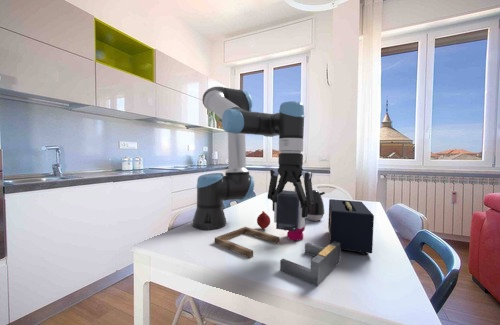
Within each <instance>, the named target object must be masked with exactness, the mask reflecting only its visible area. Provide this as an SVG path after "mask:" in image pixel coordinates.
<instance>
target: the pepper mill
mask: <svg viewBox="0 0 500 325" xmlns="http://www.w3.org/2000/svg"><path fill="white" fill-rule="evenodd" d="M293 191H296V189H295V188H294V190H293ZM300 206H301V204H300ZM305 229H306V226H305V227H303V228H301V229H299V228H297V231H289V230H287V234H286V238H288V239H289V240H290V241H302V240H303V239H304V233H303V232H304V231H305Z"/></svg>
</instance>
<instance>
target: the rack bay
mask: <svg viewBox="0 0 500 325" xmlns="http://www.w3.org/2000/svg"><path fill="white" fill-rule="evenodd" d="M340 247H341V243H339V242H335V241H334V242H333V243H331V244H330V243H329V244H328V245H327V246H326V247H323V246H319V245H316V244H313V243H309V242H306V243H304V253H305V254H307V255H309V256H310V255H311V256H313V258H312V259H311V260H310V268H309V267H307V266H304V265H301V264H299V263H296V262H293V261H291V260H288V259H285V258H281V259H280V260H279V262H280V263H279V265H280V266H279V271H280V272H281V273H284V274H286V275H289V276H291V277H294V278H295V279H298V280H301V281H303V282H305V283H308V284H310V285H313V286H315V287H319V286H320V284H322V282H323V281H324V280H326V278H327V277H328V276H330V274H331V272H332V271H333V270H334V269H335V268H336V267H337V266H338V265H339V264H340V262H341V249H340Z"/></svg>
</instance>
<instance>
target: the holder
mask: <svg viewBox="0 0 500 325" xmlns="http://www.w3.org/2000/svg"><path fill="white" fill-rule="evenodd" d="M244 234H247V235H250V236H253V237H256V238H259V239H262V240H266V241H268V242H271V243H274V244H279V243H280V236H276V235H274V234H270V233H267V232H264V231H260V230H257V229H254V228H251V227H249V226H243V227H240V228H237V229H234V230H233V231H230V232H227V233H224V234H222V235H219V236H216V237H214V244H216V245H218V246H220V247H223V248H225V249H227V250H229V251H232V252H235V253H237V254H239V255H241V256H243V257H244V256H245V257H247V258H249V259H251V258H253V257H254V250H253V249H250V248H247V247H245V246H243V245H240V244H238V243H235V242H232V241H230V240H232V239H234V238H236V237H237V238H238V237H239V236H242V235H244Z"/></svg>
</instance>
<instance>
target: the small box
mask: <svg viewBox="0 0 500 325" xmlns="http://www.w3.org/2000/svg"><path fill="white" fill-rule="evenodd" d="M300 204H301V203H300V201H299V198H298V195H297V192H296V191H295V190H285V189H283V191H282V192H280V193H279V194H278V195H277V220H276V223H275V224H276V225H275V229H276V230H282V231H288V230H289V231H297V228H298V216H299V207H300Z"/></svg>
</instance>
